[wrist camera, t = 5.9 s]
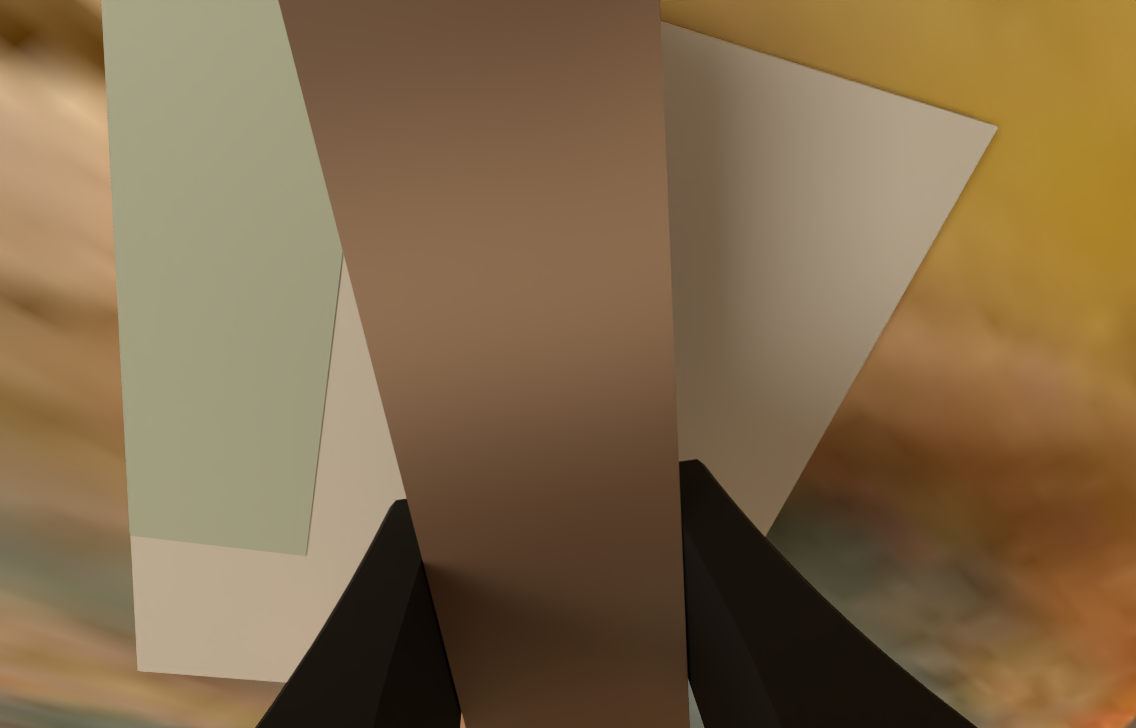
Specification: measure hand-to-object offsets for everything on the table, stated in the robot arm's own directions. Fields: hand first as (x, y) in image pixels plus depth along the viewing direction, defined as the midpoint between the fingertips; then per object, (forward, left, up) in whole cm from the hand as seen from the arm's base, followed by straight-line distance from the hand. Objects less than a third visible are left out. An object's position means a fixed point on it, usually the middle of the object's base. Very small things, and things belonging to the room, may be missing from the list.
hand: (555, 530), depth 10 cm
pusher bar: (0, -1, -3) cm, 3 cm away
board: (+1, +2, -5) cm, 5 cm away
